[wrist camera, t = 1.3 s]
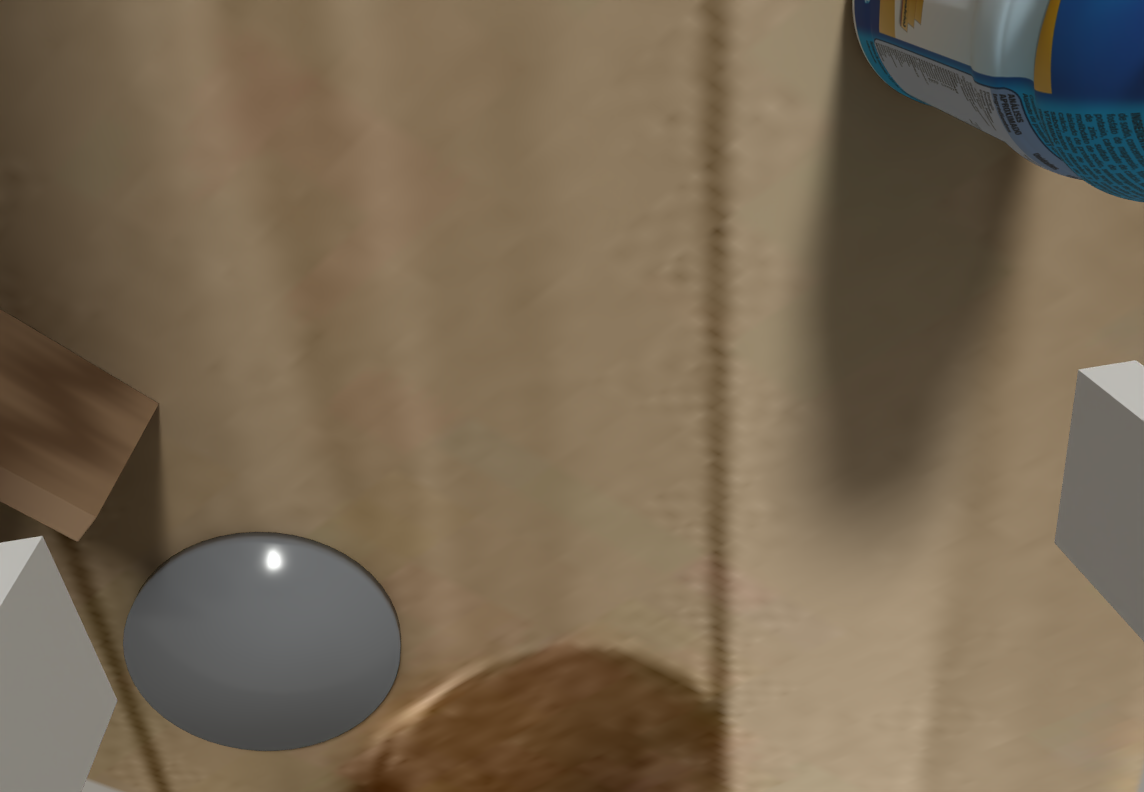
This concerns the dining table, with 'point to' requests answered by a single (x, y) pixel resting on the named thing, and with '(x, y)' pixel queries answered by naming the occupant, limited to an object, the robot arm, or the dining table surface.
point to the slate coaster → (262, 641)
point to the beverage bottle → (1025, 76)
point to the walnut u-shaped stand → (61, 429)
